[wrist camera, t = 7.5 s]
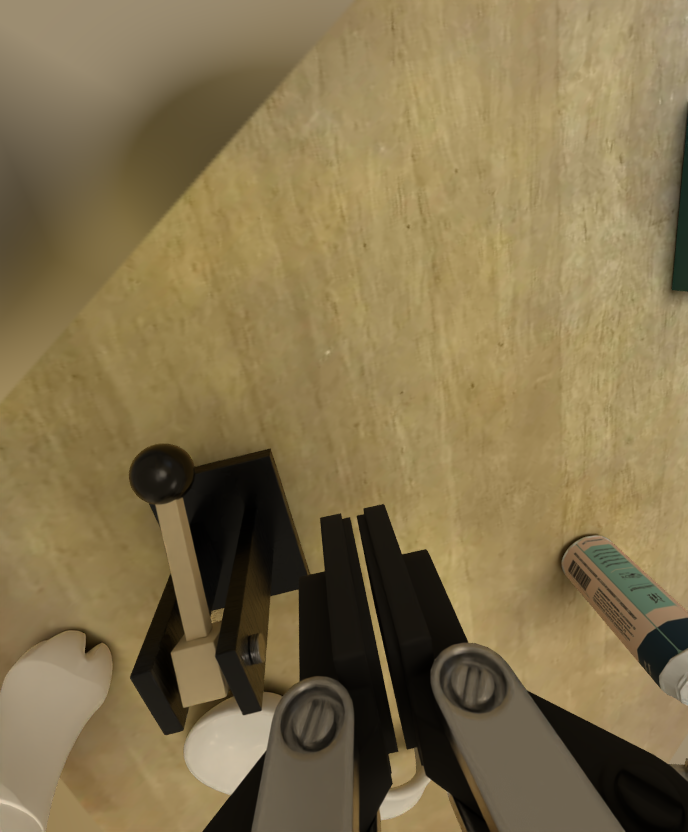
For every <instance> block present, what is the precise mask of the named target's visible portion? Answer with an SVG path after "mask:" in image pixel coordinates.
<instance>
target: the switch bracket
mask: <svg viewBox="0 0 688 832" xmlns="http://www.w3.org/2000/svg"><path fill="white" fill-rule="evenodd" d="M183 501H184V506H185V510H186V514H187V519H188V523H189V527H190V532H191V536H192V540H193V545H194V549H195V553H196V558H197V562H198V567H199V571H200V575H201V580H202V584H203V588H204V593H205V597H206V601H207V606H208V610H209V614H210V616H211V612H212V611H213V610H217V609H221V608H224V613H223V618H222V623H221V628H220V633H219V638H218V643H217V648H216V653H215V658H216V660H217V662H218V664H219V666H220V669H221V671H222V673H223V675H224V677H225V679H226V681H227V683H228V685H229V687H230V689H231V692H232V694H233V696H234V698H235V700H236V702H237V704H238V706H239V708H240V710H241V712H242V715H248V714H252V713H256V712H260V711H262V702H263V688H264V675H265V661H266V648H267V634H268V621H269V608H270V596H273V595H277V594H281V593H285V592H289V591H293V590H297V589H299V578H300V577H302V576H307V575H310V572H309V569H308V566H307V563H306V559H305V556H304V553H303V550H302V547H301V544H300V540H299V537H298V534H297V531H296V528H295V525H294V521H293V518H292V515H291V512H290V509H289V506H288V502H287V499H286V496H285V493H284V490H283V487H282V483H281V480H280V477H279V474H278V471H277V468H276V464H275V461H274V458H273V455H272V452H271V449H267V450H263V451H259V452H255V453H251V454H246V455H242V456H238V457H234V458H230V459H226V460H221V461H217V462H213V463H209V464H205V465H201V466H197V467H195V479H194V483H193V485H192V487H191V489H190V490H189V492H188V493H187V494H186V495H185V496H184V497H183ZM149 505H150V507H151V509H152V511H153V513H154V515H155V517H156V520H157V522H158V524H159V526H160V523H159V519H158V514H157V510H156V505H154V504H150V503H149ZM160 528H161V527H160ZM184 634H185V633H184V628H183V624H182V620H181V615H180V611H179V606H178V602H177V598H176V593H175V589H174V584H173V580H172V576H171V574H170V576H169V579H168V581H167V584H166V586H165V589H164V591H163V594H162V597H161V599H160V602H159V604H158V607H157V609H156V612H155V614H154V617H153V620H152V622H151V625H150V627H149V630H148V632H147V635H146V637H145V640H144V643H143V645H142V648H141V650H140V653H139V655H138V658H137V660H136V663H135V666H134V668H133V671H132V673H131V676H130V679H131V681H132V682H133V684H134V686H135V687H136V689H137V691H138V692H139V694H140V696H141V697H142V699H143V700H144V702H145V704H146V705H147V707H148V709H149V710H150V712H151V714H152V715H153V717H154V718H155V720H156V722H157V723H158V725H159V727H160V728H161V730H162V732H163V733H164V735H169V734H173V733H177V732H181V731H183V730H184V726H185V722H186V718H187V714H188V709H189V707H185V708H183V705H182V701H181V696H180V692H179V687H178V683H177V678H176V674H175V670H174V665H173V661H172V656H171V652H172V650H173V649H174V648H175V646H176V645H177V643H178V642H179V641H180V639H181V638H182V637H183V635H184Z"/></svg>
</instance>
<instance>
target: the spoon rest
mask: <svg viewBox="0 0 688 832" xmlns="http://www.w3.org/2000/svg"><path fill="white" fill-rule="evenodd" d="M282 697H283V696H281V695H278V694H275V693H271V692H263V702H262V711H260V712H256V713H252V714H248V715H242V712H241V710H240V708H239V706H238V704H237V702H236V700H235V698H234V697H231V698H229V699H227V700H225V701H223V702H221V703H219V704H218V705H216V706H215V707H213V708H212V709H210V710H209V711H208V712H207V713H205V714H204V715H203V716H202V717H201V718H200V719H199V720H198V721H197V722H196V723H195V725H194V726H193V727H192V729H191V730H190V732H189V734H188V736H187V738H186V740H185V744H184V759H185V762H186V765H187V767H188V769H189V770H190V772H191V773H192V774H193V775H194V776H195V777H196V778H197V779H198V780H199V781H201V782H202V783H203V784H205V785H207V786H209V787H211V788H213V789H215V790H217V791H220V792H223V793H225V794H229V795H232V793H233V792H234V791H235V789H236V788H237V787H238V786H239V784H240V783H241V782H242V780H243V779H244V778H245V777H246V775H247V774H248V773H249V772H250V770H251V769H252V768H253V766H254V765H255V764H256V763H257V761H258V760H259V759H260V757H261V756H262V755H263V754H264V752H265V751H266V750H267V744H268V739H269V734H270V728H271V723H272V718H273V715H274V712H275V709H276V706H277V705H278V703H279V701H280V700H281V698H282ZM414 751H415V759H416V774H415V776H414V777H413V778H412V779H411V780H410V781H409V782H407V783H405V784H403V785H401V786H398V787H394V788H390V789H389V791H388V793H387V795H386V797H385V799H384V801H383V802H382V804H381V806H380V808H379V809H380V815H381V820H385V819H391V818H394V817H397V816H399V815H401V814H403V813H405V812H406V811H408V810H409V809H411V808H412V807H413V806H414V805H415V804H416V803H417V802H418V800H419V799H420V797H421V796H422V793H423V791H424V789H425V787H426V786H427V785H428V783H429V782H430V781H431V779H430V778H428V777H427V776H426V775H425V770H424V766H421V762H420V758H419V754H418V750H417V747H416V748H414Z"/></svg>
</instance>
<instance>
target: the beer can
mask: <svg viewBox="0 0 688 832" xmlns="http://www.w3.org/2000/svg"><path fill="white" fill-rule="evenodd" d="M562 569H563V572H564V573H565V575H566V576H567V577H568V578H569V580H570V581H571V582H572V583H573V584H574V586H575V587H576V588H577V589H578V590H579V592H580V593H581V594H582V595H583V596H584V598H585V599H586V600H587V601H588V602H589V603H590V605H591V606H592V607H593V608H594V609H595V611H596V612H597V613H598V614H599V615H600V617H601V618H602V619H603V620H604V621H605V623H606V624H607V625H608V626H609V627H610V629H611V630H612V631H613V632H614V633H615V635H616V636H617V637H618V638H619V639H620V641H621V642H622V643H623V644H624V645H625V646H626V648H627V649H628V650H629V651H630V652H631V654H632V655H633V656H634V657H635V658H636V660H637V661H638V662H639V663H640V664H641V666H642V667H643V668H644V669H645V670H646V672H647V673H648V674H649V675H650V676H651V678H652V679H653V680H654V681H655V682H656V684H657V685H658V686H659V687H660V688H661V689H662V690H663V691H664V692H665V693H666V694H667V695H669V696H672V697H674V698H676V699H677V700H679V701H680V702H681V703H683V704H686V705H688V611H687V610H686V609H684V608H683V607H682V606H681V605H680V604H679V603H678V602H677V601H676V600H675V599H674V598H672V597H671V596H670V595H669V594H668V593H667V592H666V591H665V590H664V589H663V588H662V587H660V586H659V585H658V584H657V583H656V582H655V581H654V580H653V579H652V578H651V577H650V576H648V575H647V574H646V573H645V572H644V571H643V570H642V569H641V568H640V567H639V566H638V565H636V564H635V563H634V562H633V561H632V560H631V559H630V558H629V557H628V556H627V555H625V554H624V553H623V552H622V551H621V550H620V549H619V548H618V547H617V546H616V545H615V544H613V543H612V542H611V541H610V540H609V539H608V538H606V537H603V536H598V535H594V536H588V537H584V538H581V539H580V540H578V541H576V542H575V543H573V544H572V545H571V546H570V547H569V548H568V549H567V551H566V552H565V554H564V556H563V558H562Z"/></svg>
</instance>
